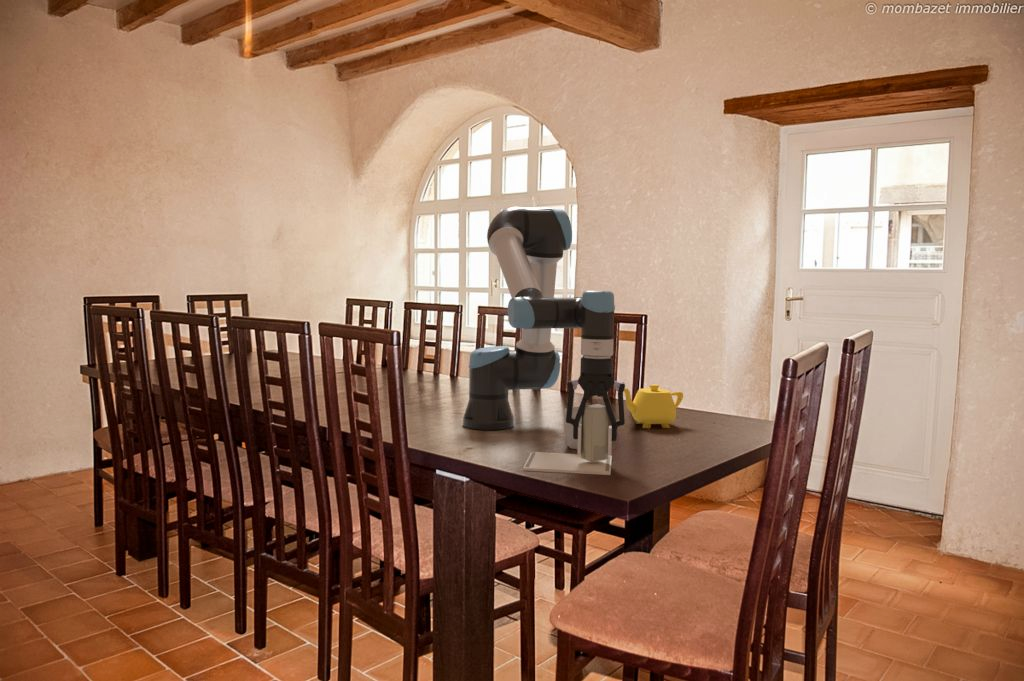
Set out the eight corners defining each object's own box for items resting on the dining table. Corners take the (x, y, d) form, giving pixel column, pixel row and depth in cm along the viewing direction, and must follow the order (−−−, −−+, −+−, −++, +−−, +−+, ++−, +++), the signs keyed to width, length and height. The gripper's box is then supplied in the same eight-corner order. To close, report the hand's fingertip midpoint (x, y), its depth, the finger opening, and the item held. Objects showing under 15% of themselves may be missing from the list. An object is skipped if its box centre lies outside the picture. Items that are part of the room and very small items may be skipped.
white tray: (531, 454, 187) (531, 451, 187) (611, 458, 184) (611, 455, 184) (522, 470, 171) (522, 467, 171) (610, 475, 168) (610, 472, 168)
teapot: (612, 421, 231) (613, 381, 230) (674, 420, 233) (675, 381, 232) (624, 430, 217) (626, 388, 216) (690, 429, 220) (691, 387, 219)
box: (597, 456, 180) (599, 403, 178) (608, 460, 176) (610, 406, 175) (579, 458, 177) (580, 405, 176) (590, 462, 173) (591, 408, 172)
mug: (603, 450, 192) (604, 412, 191) (570, 452, 189) (571, 413, 189) (585, 439, 204) (586, 403, 203) (554, 441, 202) (555, 404, 201)
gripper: (554, 357, 172) (552, 455, 174) (639, 359, 169) (636, 459, 171) (557, 353, 179) (555, 447, 181) (638, 356, 176) (635, 451, 178)
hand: (594, 453), depth 176 cm, fingers closed on box, 6 cm apart
